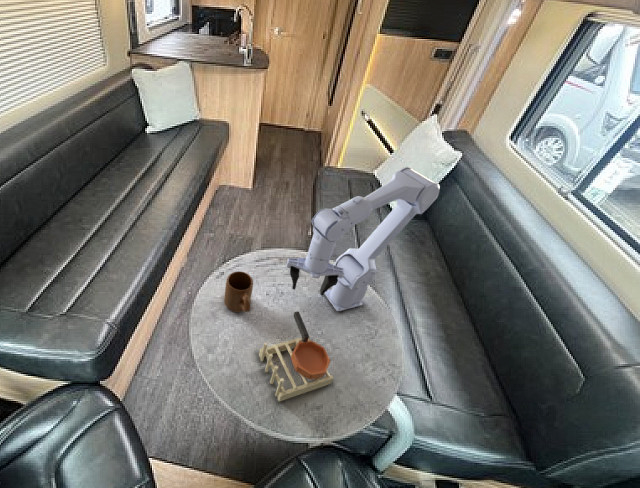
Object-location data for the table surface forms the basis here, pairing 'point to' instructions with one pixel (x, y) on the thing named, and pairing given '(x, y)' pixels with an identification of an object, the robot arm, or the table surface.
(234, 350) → the table surface
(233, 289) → the mug
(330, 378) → the rack
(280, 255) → the table surface
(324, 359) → the pan
